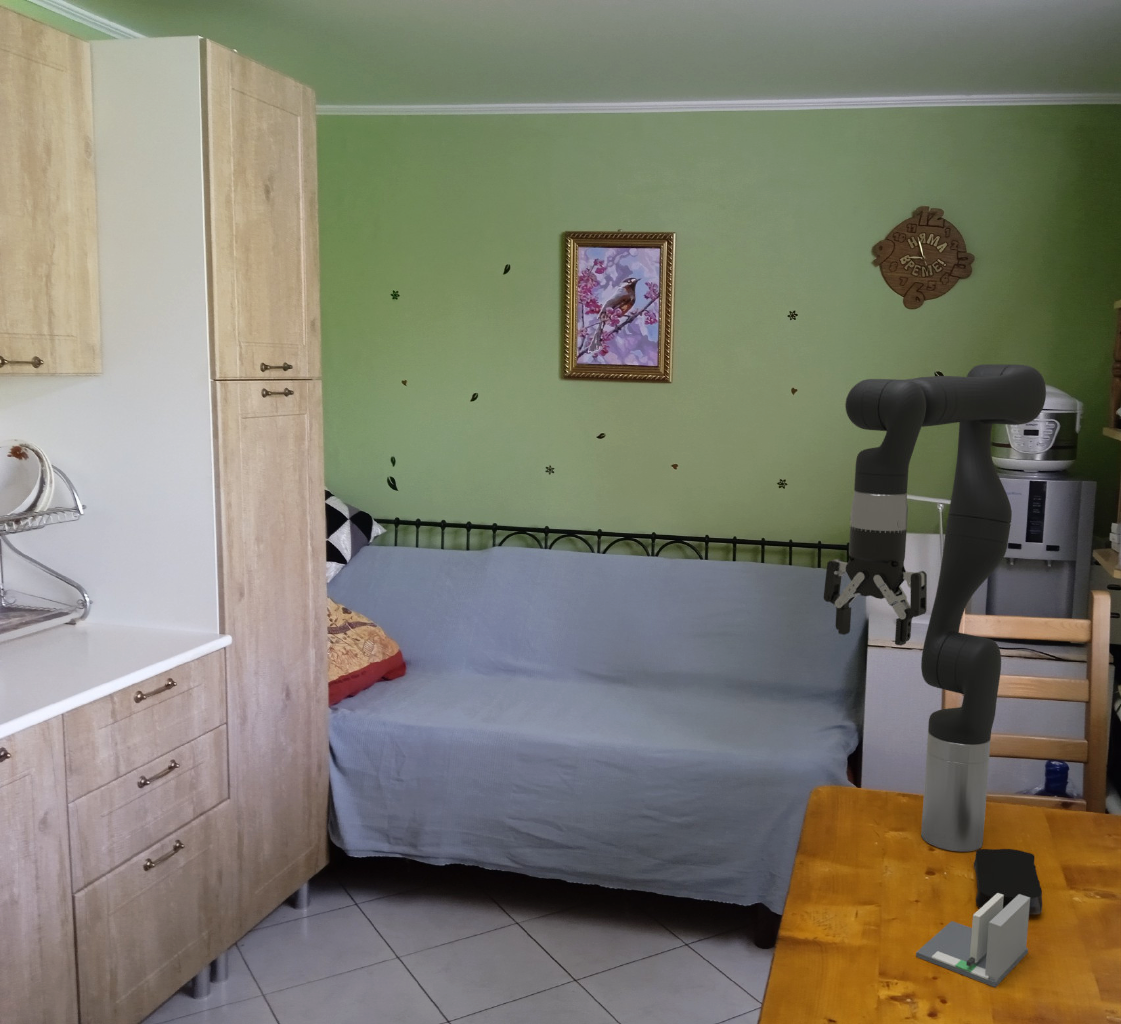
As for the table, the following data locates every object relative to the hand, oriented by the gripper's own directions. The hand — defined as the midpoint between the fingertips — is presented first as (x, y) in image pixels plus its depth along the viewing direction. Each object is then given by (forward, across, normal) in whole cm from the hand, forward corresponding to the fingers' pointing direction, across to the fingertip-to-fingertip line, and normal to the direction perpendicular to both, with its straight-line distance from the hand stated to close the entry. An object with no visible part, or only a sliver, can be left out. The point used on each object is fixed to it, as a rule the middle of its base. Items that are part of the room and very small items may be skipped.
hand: (871, 638), depth 154 cm
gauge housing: (+36, -20, +8) cm, 42 cm away
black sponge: (+37, -17, -12) cm, 42 cm away
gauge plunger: (+35, -22, +9) cm, 42 cm away
